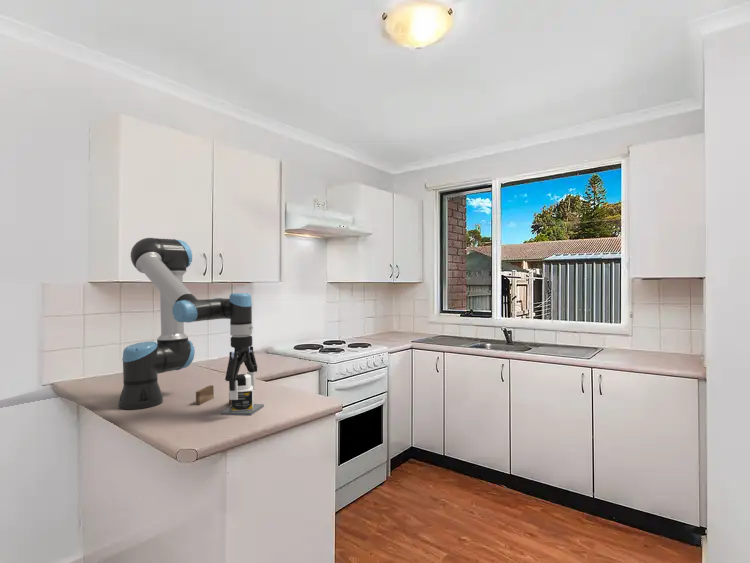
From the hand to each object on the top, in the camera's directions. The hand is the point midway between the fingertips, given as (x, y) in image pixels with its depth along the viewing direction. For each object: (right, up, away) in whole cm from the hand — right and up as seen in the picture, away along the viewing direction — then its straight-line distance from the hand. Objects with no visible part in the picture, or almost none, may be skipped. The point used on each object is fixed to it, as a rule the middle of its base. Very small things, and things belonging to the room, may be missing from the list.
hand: (242, 394), depth 158 cm
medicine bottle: (0, -5, 0) cm, 5 cm away
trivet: (0, -6, 0) cm, 6 cm away
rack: (-12, -6, +12) cm, 18 cm away
